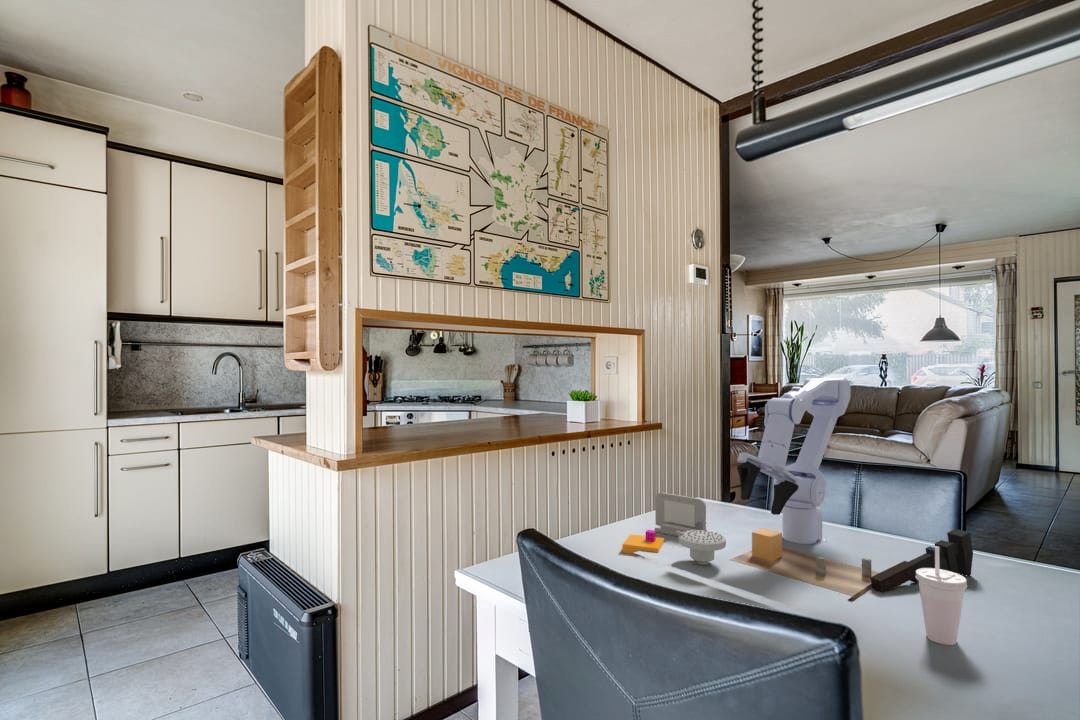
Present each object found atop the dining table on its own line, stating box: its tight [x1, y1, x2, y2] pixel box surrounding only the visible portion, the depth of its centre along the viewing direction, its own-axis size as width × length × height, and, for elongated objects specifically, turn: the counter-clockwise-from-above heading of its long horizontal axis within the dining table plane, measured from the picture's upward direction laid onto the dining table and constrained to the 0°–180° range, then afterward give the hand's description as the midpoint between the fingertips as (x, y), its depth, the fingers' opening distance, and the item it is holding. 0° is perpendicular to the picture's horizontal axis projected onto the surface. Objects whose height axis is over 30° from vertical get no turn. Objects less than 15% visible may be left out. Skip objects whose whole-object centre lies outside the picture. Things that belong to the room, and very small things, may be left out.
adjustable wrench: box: [870, 528, 974, 594], centre depth 107 cm, size 8×3×25 cm
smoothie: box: [916, 545, 968, 646], centre depth 84 cm, size 6×6×14 cm
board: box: [729, 546, 880, 602], centre depth 112 cm, size 16×24×4 cm, turn 40°
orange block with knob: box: [621, 529, 665, 555], centre depth 126 cm, size 8×8×4 cm
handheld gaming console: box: [653, 492, 707, 538], centre depth 138 cm, size 13×9×10 cm
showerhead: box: [676, 529, 727, 565], centre depth 114 cm, size 9×7×10 cm
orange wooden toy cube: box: [751, 527, 783, 561], centre depth 118 cm, size 4×4×5 cm
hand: (760, 506), depth 117 cm, fingers open, 7 cm apart
